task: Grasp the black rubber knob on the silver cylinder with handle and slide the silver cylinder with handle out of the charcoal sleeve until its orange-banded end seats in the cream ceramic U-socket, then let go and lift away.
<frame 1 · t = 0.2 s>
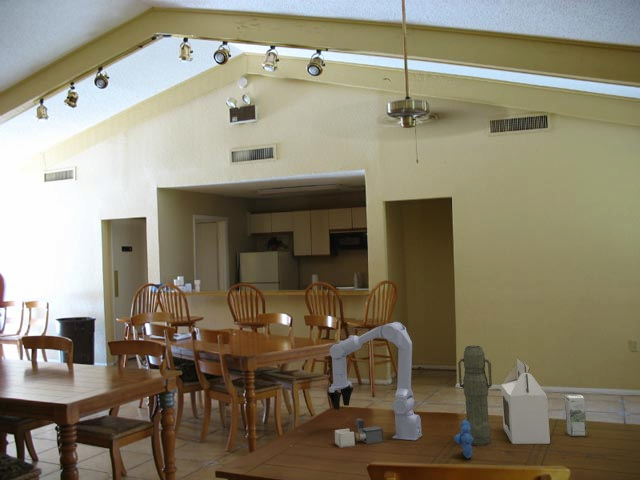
hand: (341, 407, 256), 10 cm above the table, tool pointing down, fingers open, 7 cm apart
syrup box: (576, 435, 236), on the table
grapes: (464, 456, 215), on the table
silver cylinder with handle: (367, 429, 239), point 5 cm above the table, slide at 0.0 cm
gable box: (525, 436, 237), on the table
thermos: (479, 442, 232), on the table
ceramic socket: (344, 437, 237), on the table
charcoal sleeve: (369, 441, 239), on the table
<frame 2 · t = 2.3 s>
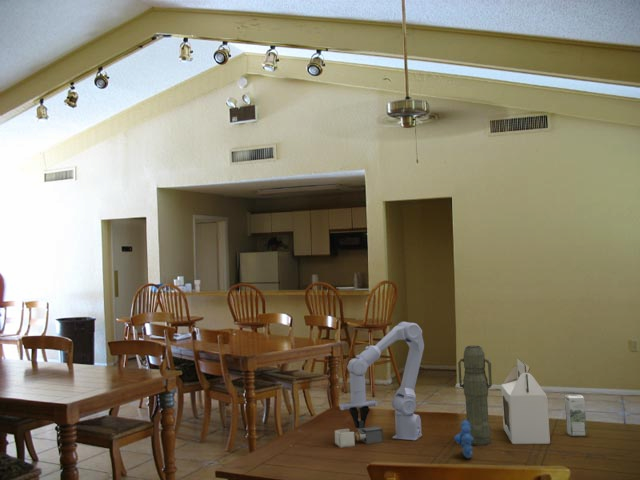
hand: (359, 427, 239), 6 cm above the table, tool pointing down, fingers closed on silver cylinder with handle, 2 cm apart
silver cylinder with handle: (367, 429, 239), point 5 cm above the table, slide at 0.0 cm, touching gripper
everything else where it was.
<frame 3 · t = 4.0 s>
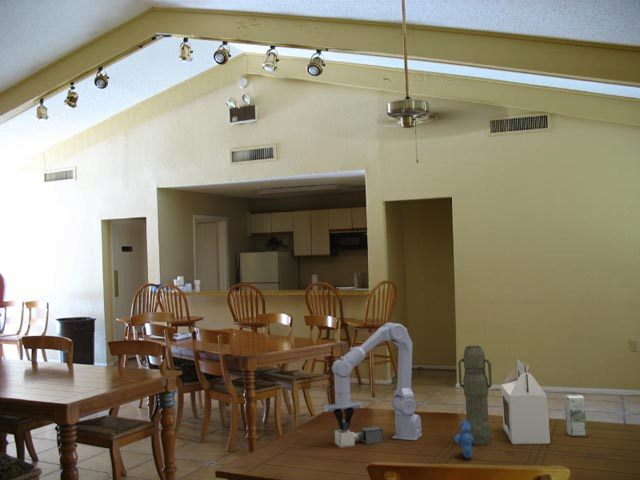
hand: (344, 429, 237), 6 cm above the table, tool pointing down, fingers closed on silver cylinder with handle, 2 cm apart
silver cylinder with handle: (351, 430, 238), point 5 cm above the table, slide at 6.2 cm, touching gripper
everything else where it was.
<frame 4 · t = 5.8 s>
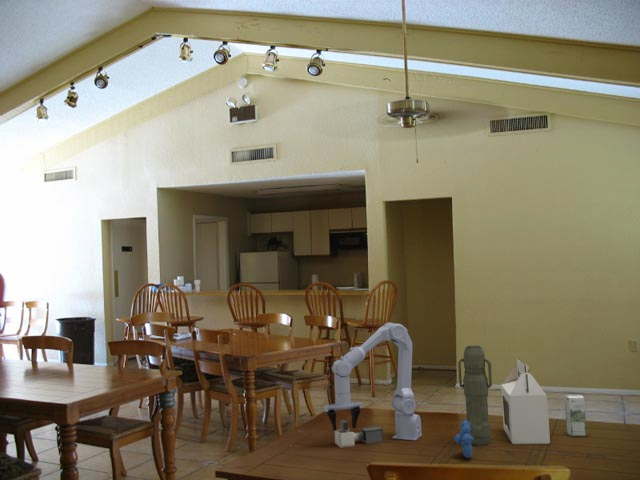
hand: (344, 429, 237), 6 cm above the table, tool pointing down, fingers open, 7 cm apart
silver cylinder with handle: (351, 430, 238), point 5 cm above the table, slide at 6.2 cm
everything else where it was.
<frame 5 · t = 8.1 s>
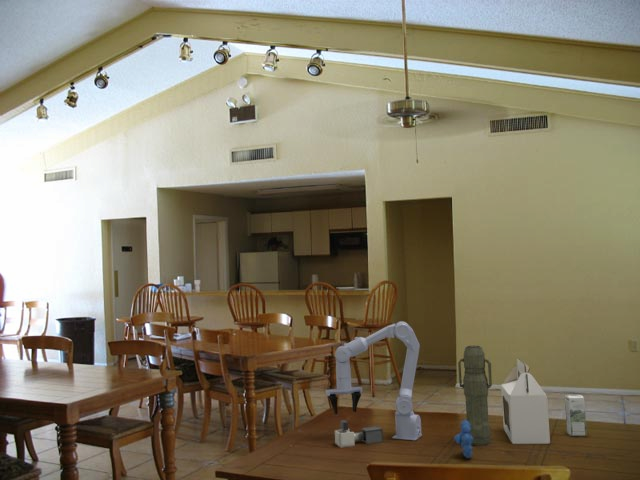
hand: (345, 412, 246), 10 cm above the table, tool pointing down, fingers open, 7 cm apart
nothing on the table moved.
at the end: silver cylinder with handle slide at 6.2 cm; the gripper is holding nothing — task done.
